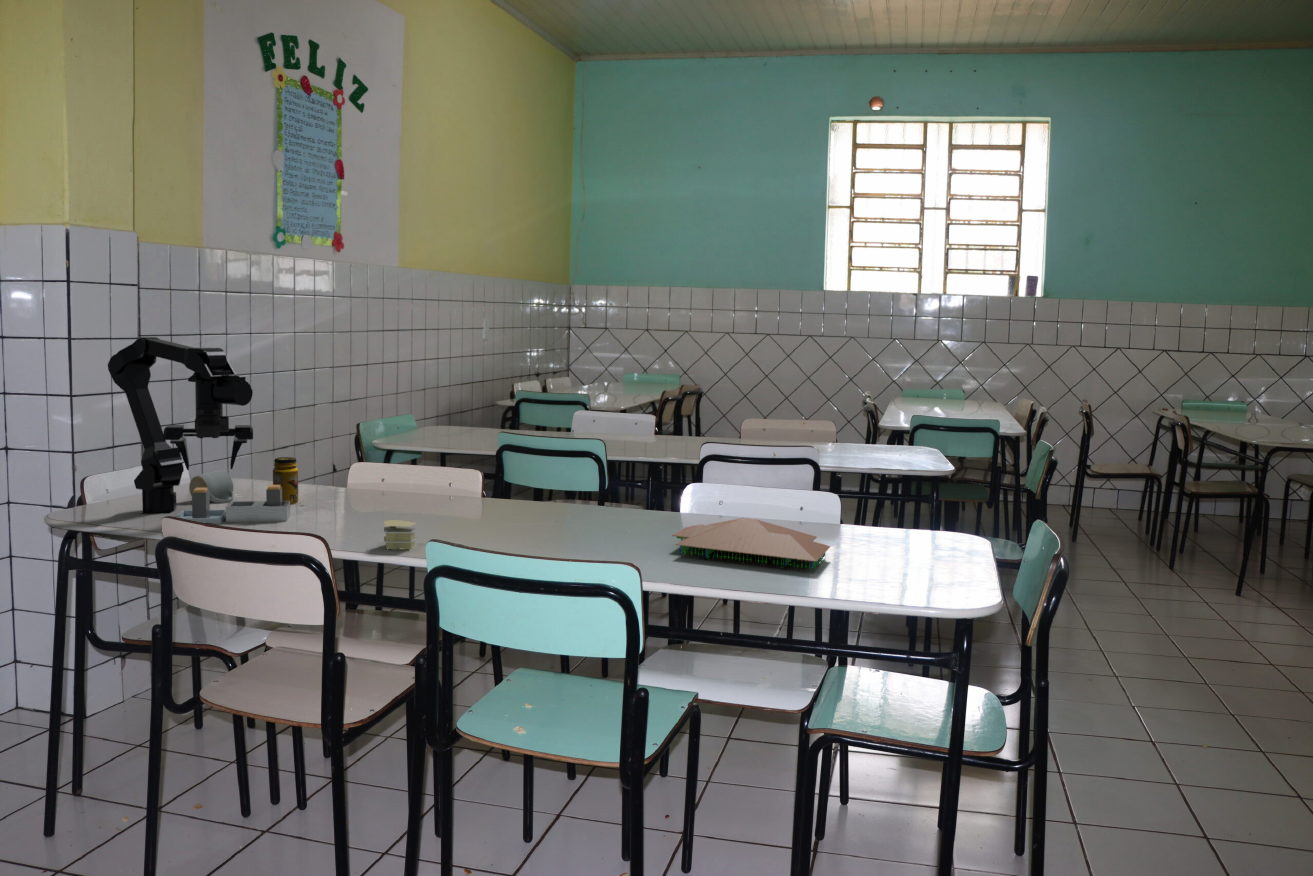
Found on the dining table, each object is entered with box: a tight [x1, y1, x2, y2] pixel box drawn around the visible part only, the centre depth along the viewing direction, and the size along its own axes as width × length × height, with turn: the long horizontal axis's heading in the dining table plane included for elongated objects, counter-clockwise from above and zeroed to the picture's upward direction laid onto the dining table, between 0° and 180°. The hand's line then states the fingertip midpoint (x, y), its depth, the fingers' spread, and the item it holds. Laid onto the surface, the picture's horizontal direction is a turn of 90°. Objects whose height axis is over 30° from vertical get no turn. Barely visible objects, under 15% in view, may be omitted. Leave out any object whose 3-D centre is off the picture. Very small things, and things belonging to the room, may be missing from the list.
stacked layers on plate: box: [383, 519, 418, 550], centre depth 210 cm, size 10×9×6 cm
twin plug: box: [265, 484, 282, 506], centre depth 232 cm, size 3×4×7 cm
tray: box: [176, 509, 226, 525], centre depth 228 cm, size 10×10×2 cm
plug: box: [191, 488, 211, 518], centre depth 228 cm, size 3×4×7 cm
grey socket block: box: [225, 500, 291, 523], centre depth 231 cm, size 13×7×4 cm, turn 104°
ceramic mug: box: [189, 469, 235, 504], centre depth 251 cm, size 11×8×8 cm
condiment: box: [272, 456, 305, 507], centre depth 250 cm, size 7×8×12 cm
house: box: [671, 517, 831, 570], centre depth 215 cm, size 23×33×8 cm
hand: (209, 469), depth 228 cm, fingers open, 9 cm apart
